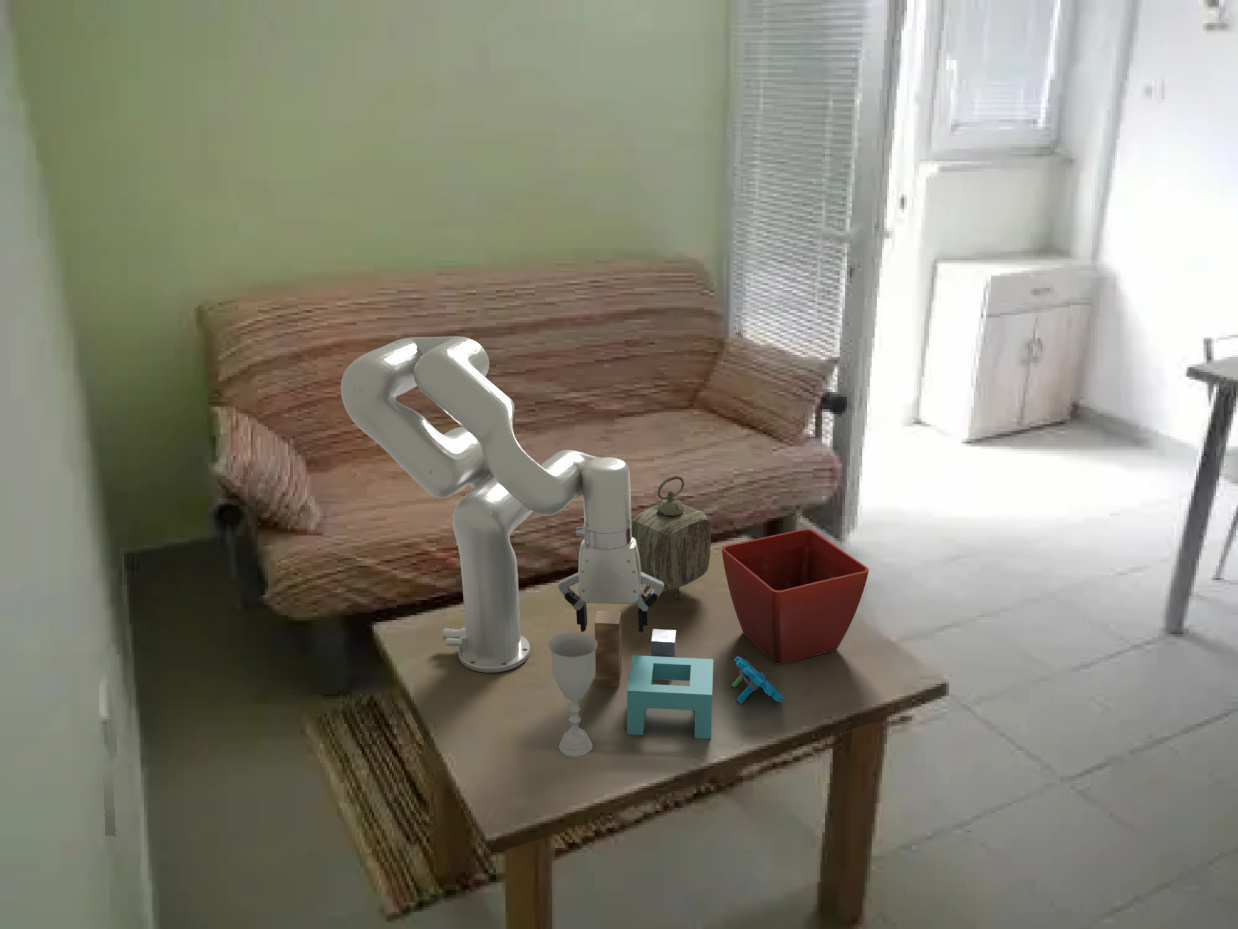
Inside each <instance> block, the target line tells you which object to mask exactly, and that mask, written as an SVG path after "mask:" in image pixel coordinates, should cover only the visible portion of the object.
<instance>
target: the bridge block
mask: <svg viewBox="0 0 1238 929" xmlns="http://www.w3.org/2000/svg"><path fill="white" fill-rule="evenodd" d="M631 657H632V658H631V663H630V670H629V676H628V682H627V687H626V688H627V689H626V690H627V691H626V717H627V718H626V722H627V723H626V727H627V728H626V733H627V735H635V736H636V735H638V736H644V731H645V725H646V724H645V723H646V714H647V709H655V710H656V709H657V710H659V709H660V710H674V711H675V710H677V711H692V712H693V711H694V712H695V714H694V715H695V716H694V738H696V739H712V712H713V676H714V675H713V674H714V673H713V672H714V659H713V658H699V657H698V658H697V657H696V658H695V657H656V656H651V655H634V654H633V655H632V656H631ZM654 680H660V681H661V680H665V681H683V682H684V681H685V682H689V685H676V684H675V685H673V684H656V683H655V684H653V683H654Z"/></svg>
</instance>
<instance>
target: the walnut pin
mask: <svg viewBox="0 0 1238 929" xmlns="http://www.w3.org/2000/svg"><path fill="white" fill-rule="evenodd" d="M594 638H595V639H596V641H597V648H596V650H595V651H594V673H595V686H603V687H605V686H607V687H608V686H609V687H620V685H621V681H622V680H621V679H622V673H623V672H622V667H623V666H622V665H623V664H622V662H623V660H622V659H623V658H622V655H623V654H622V652H623V650H622V648H623V647H622V611H618V610H617V611H615V610H613V611H612V610H611V611H610V610H597V611H596V616H595V619H594Z"/></svg>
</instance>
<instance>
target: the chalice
mask: <svg viewBox="0 0 1238 929" xmlns="http://www.w3.org/2000/svg"><path fill="white" fill-rule="evenodd" d="M547 647H548V649H549V650H550V652H551V660H552V661H551V665H552V676H553V678H554V680H555V682H556V685H557V686H558V688H559V690H560V691H561V693H562V694H563V696H564V697H565V699H566V700H568V701H570V703H571V704H570V706H569V708H568V711H570V713H571V714H570V715H571V716H570V717H569V718H568V720H569V722H570V724H571V728H570V729H568V730H566V731H565V733H564V734H563V736H562V737H561V741H560V743H558V744H559V746H558V748H559V751H561V753H562V754H563V755H566V756H569V757H581V756H584V755H587V754H588V753H589V752H591V750H592V749H593V743H592V741H591V740H590V736H588V734H587V732H586V731H585V730H584V729H583V728H580V727H579V723H580V722H581V721H582V718H581V717H580V716H579V712H580V711H581V708H580V706H579V704H578V702H579V700H582V699H583V698H584V697H585V695H586V693H587V691H588V689H589V688H590V686H591V684H592V681H593V678H594V676H595V650H596V648H597V641H596V639H595V637H593V636H591V635H589V634H586V633H584V632H578V631H577V632H571V631H570V632H565V633H560V634H557V635H555V636H552V637H551V638H550V640H549V641H548V643H547Z"/></svg>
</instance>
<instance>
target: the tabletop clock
mask: <svg viewBox="0 0 1238 929" xmlns="http://www.w3.org/2000/svg"><path fill="white" fill-rule="evenodd" d="M674 480H679V481H680V482H681V486H680V487H679V488H678V489H677V490H676V491H675V492H674V491H673V490H669V491H668V492H667V495H661V490H662V489H663V487H664V486H665V485H666V484H667V483H669V482H671V481H674ZM684 487H685V481H684V478H683V477H682V476H679V475H673V476H669V477H668V478H666V479H664V480H663V481H662V482H661V483H660V484H659V486H658V489H657V497H658V498H660V499H661V500H660V502H659V503H658V504H655V505H654V506H652V507H650V508H647V509H645V510H644V511H641V512H640V513H638V514H637V515H636V516H635V517H634V518H632V519H631V523H632V537H633V538H635V540H636V543H637V546H638V551H639V556H640V563H641V572H643V573H645V574H647V575H649V576H651V577H653V578H656V579H658V580H660V581H662V582H663V583H664V588H663V590H662V592H665V591H666V592H667V591H671V590H675V592H674V594H673V596H674V599H675V600H678V601H680V600H682V598H683V592H681V591H680V589H679V588H681V587H684V586H686V585H688V584H690V583H692V582H695V581H696V580H698V579H699V578H701V577H702V576H704V575H705V574H706V572H708V569H709V566H710V559H711V542H712V539H711V532H712V530H711V524H710V521H709V519H708V517H707V515H706V513H705V512H703V511H701V510H698V509H697V508H696V509H695V508H694V507H691V506H689V505H686V504H683V503H682V502H681V501H680V499H677V498H676V496H678V495H679V494H680V493H682V491H683V489H684ZM650 589H651V587H649V586H647V585H645V588H644V590H643V591H642V592H643V593H644V594H645V595H646V596H647V594H646V593H647V592H648V591H649V590H650Z"/></svg>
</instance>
